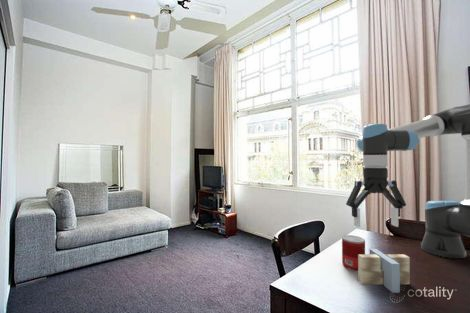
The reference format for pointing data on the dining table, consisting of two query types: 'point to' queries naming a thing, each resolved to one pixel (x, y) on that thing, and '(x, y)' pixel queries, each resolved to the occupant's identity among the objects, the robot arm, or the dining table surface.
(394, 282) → the pale blue plate
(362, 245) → the canned food
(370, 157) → the robot arm
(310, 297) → the dining table surface
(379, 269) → the birch plate
